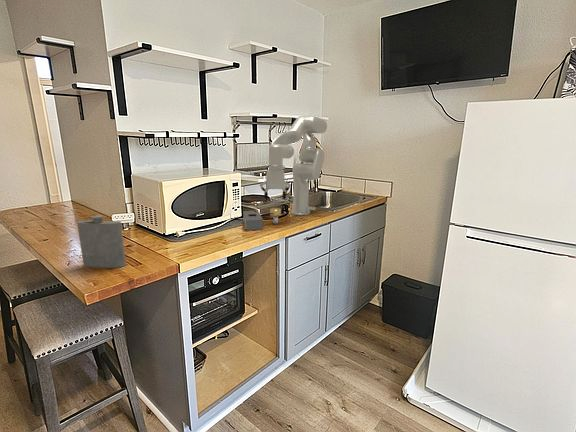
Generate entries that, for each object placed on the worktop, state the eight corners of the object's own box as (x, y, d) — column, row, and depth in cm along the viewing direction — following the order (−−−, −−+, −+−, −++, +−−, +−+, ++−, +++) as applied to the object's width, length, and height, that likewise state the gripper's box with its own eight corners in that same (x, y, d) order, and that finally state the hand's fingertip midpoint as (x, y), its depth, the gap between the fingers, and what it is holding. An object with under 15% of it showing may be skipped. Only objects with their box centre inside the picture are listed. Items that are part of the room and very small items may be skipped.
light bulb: (279, 222, 191) (279, 207, 189) (281, 225, 185) (281, 210, 183) (269, 222, 189) (269, 208, 187) (271, 225, 184) (271, 210, 182)
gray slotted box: (258, 219, 195) (258, 210, 194) (263, 229, 176) (262, 219, 175) (243, 220, 193) (243, 211, 192) (246, 230, 174) (245, 220, 173)
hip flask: (127, 264, 129) (121, 214, 124) (122, 268, 125) (116, 217, 120) (87, 263, 129) (79, 214, 124) (80, 267, 125) (72, 216, 120)
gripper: (289, 167, 184) (288, 197, 188) (258, 167, 181) (258, 198, 185) (292, 169, 177) (291, 200, 181) (260, 168, 174) (260, 200, 178)
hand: (275, 199), depth 183 cm, fingers open, 9 cm apart
